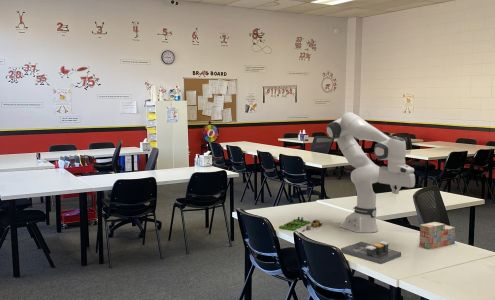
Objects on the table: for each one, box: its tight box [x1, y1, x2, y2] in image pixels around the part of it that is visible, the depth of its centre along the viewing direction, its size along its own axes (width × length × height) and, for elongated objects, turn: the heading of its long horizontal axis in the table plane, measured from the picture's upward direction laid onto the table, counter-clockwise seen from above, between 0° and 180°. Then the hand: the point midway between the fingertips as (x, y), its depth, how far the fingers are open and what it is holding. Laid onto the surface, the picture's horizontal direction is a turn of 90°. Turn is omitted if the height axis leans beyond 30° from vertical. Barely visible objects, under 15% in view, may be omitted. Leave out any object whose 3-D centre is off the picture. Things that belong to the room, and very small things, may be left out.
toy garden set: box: [278, 216, 323, 233], centre depth 299 cm, size 23×19×5 cm
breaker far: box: [378, 240, 390, 250], centre depth 247 cm, size 4×4×3 cm
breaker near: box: [366, 246, 376, 255], centre depth 239 cm, size 4×4×3 cm
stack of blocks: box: [419, 221, 456, 250], centre depth 262 cm, size 21×6×12 cm, turn 120°
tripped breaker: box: [372, 243, 384, 253], centre depth 242 cm, size 4×4×3 cm
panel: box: [340, 241, 402, 265], centre depth 246 cm, size 24×18×2 cm
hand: (395, 193), depth 256 cm, fingers closed
